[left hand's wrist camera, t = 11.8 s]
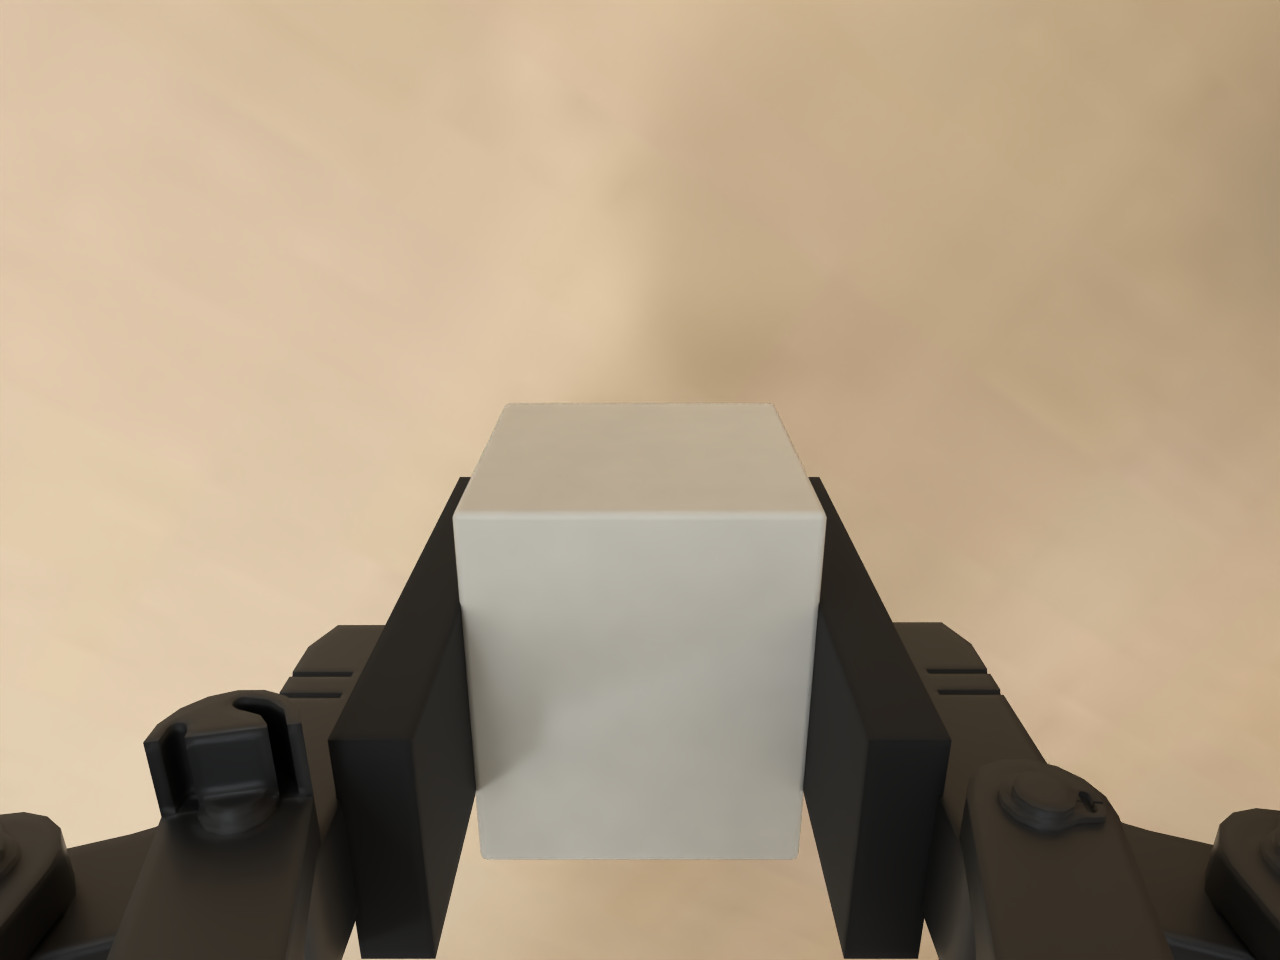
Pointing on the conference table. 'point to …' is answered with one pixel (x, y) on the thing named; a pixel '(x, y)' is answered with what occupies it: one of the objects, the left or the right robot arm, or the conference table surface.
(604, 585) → the block
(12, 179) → the conference table surface
